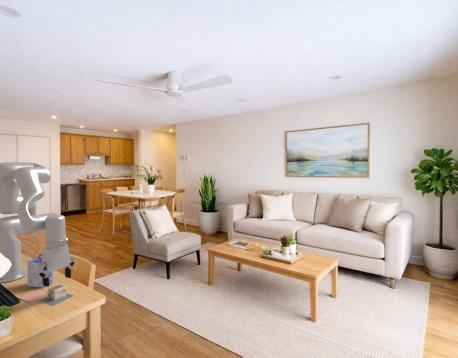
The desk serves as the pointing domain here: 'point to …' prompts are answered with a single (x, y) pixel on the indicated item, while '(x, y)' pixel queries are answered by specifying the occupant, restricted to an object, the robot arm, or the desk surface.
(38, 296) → the terracotta tile
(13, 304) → the desk surface
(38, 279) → the ink cartridge box
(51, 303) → the gray board
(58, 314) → the desk surface
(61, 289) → the maple block
